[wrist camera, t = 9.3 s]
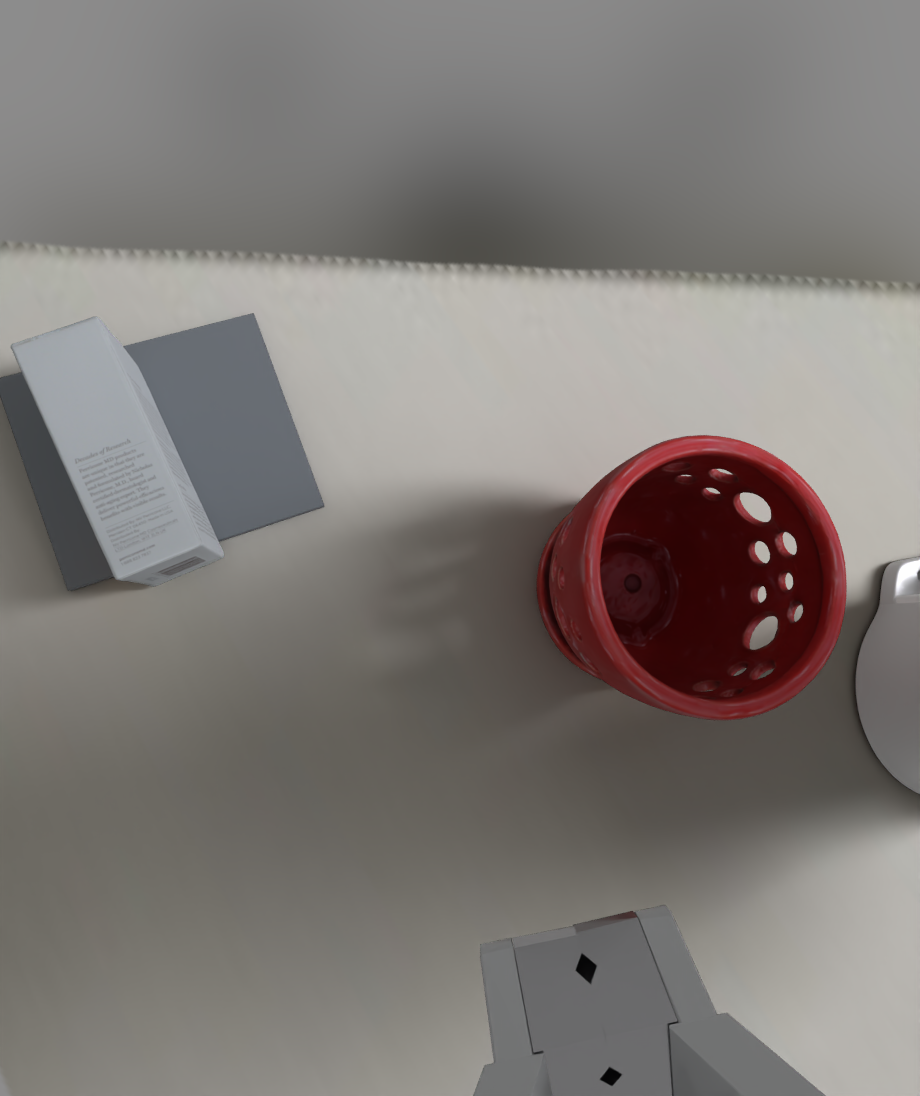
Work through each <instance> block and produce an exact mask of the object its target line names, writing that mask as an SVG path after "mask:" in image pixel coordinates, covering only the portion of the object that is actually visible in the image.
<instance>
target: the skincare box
mask: <svg viewBox="0 0 920 1096" xmlns="http://www.w3.org/2000/svg"><path fill="white" fill-rule="evenodd" d="M11 349H12V351H13V353H14V356H15V358H16V360H17V362H18V365H19V367H20V369H21V371H22V373H23V376H24V378H25V380H26V382H27V384H28V387H29V389H30V391H31V393H32V395H33V398H34V400H35V402H36V405H37V407H38V409H39V411H40V414H41V416H42V418H43V420H44V422H45V425H46V427H47V429H48V431H49V434H50V436H51V438H52V440H53V443H54V445H55V447H56V449H57V452H58V454H59V456H60V458H61V461H62V463H63V465H64V467H65V469H66V471H67V474H68V476H69V478H70V480H71V483H72V485H73V487H74V489H75V491H76V493H77V495H78V498H79V500H80V502H81V505H82V507H83V509H84V511H85V514H86V516H87V518H88V520H89V522H90V525H91V527H92V529H93V531H94V534H95V536H96V538H97V540H98V542H99V545H100V547H101V549H102V551H103V553H104V555H105V558H106V560H107V562H108V564H109V566H110V569H111V571H112V573H113V576H114V577H115V579H116V580H120V581H129V582H136V583H140V584H146V585H149V586H152V587H154V586H157V585H160V584H162V583H165V582H167V581H169V580H172V579H174V578H176V577H178V576H181V575H183V574H186V573H188V572H191V571H193V570H195V569H198V568H200V567H203V566H205V565H208V564H210V563H212V562H215V561H217V560H219V559H221V558H223V557H224V552H223V550H222V548H221V546H220V544H219V541H218V539H217V537H216V535H215V533H214V531H213V528H212V526H211V524H210V522H209V519H208V517H207V515H206V513H205V511H204V509H203V506H202V504H201V502H200V500H199V498H198V495H197V493H196V491H195V489H194V487H193V485H192V483H191V480H190V478H189V476H188V474H187V472H186V470H185V467H184V465H183V463H182V461H181V459H180V456H179V454H178V452H177V450H176V448H175V445H174V443H173V441H172V439H171V437H170V435H169V432H168V430H167V428H166V426H165V424H164V421H163V419H162V417H161V415H160V413H159V410H158V408H157V406H156V404H155V401H154V399H153V397H152V395H151V392H150V390H149V388H148V386H147V384H146V382H145V380H144V378H143V375H142V373H141V371H140V369H139V367H138V366H137V364H136V363H135V362H134V360H133V359H132V358H131V356H130V355H129V354H128V352H127V351H126V350H125V348H124V347H123V346H122V344H121V342H120V341H119V340H118V339H117V338H116V337H115V336H114V335H113V334H112V333H111V332H110V330H109V329H108V328H107V327H106V325H105V324H104V323H103V322H102V320H101V319H100V318H98V317H92V318H89V319H86V320H83V321H80V322H77V323H74V324H71V325H69V326H66V327H63V328H60V329H57V330H54V331H51V332H48V333H45V334H42V335H38V336H35V337H32V338H29V339H26V340H23V341H20V342H17V343H14V344H12V345H11Z"/></svg>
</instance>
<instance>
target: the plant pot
mask: <svg viewBox="0 0 920 1096" xmlns="http://www.w3.org/2000/svg"><path fill="white" fill-rule="evenodd" d="M716 469H724V470H727V471H729V472H730V473H732V475H731V474H726V473H722V472H720V471H718V470H716ZM681 475H691V476H681ZM706 488H714V489H716V490H718V491H719V492H720V493H721V494H715V493H712V492H709V491H708V490H707V489H706ZM743 492H749V493H754V494H756V495H758V496H760V497H761V498H763V499H764V500H765V501H766V502H767V504H768V505H769V507H770V509H771V519H770V521H769V522H762V521H759V520H757V519H755V518H753V517H752V516H751V515H750V514H749V513H748V512H747V511H746V510H745V508H744V507H743V505H742V503H741V501H740V493H743ZM784 532H788V533H789V534H791V535H792V536H793V537H794V539H795V541H796V545H797V552H796V554H795V555H792V554H790V553H789V552H788V551H787V550H786V548H785V546H784V543H783V537H782V536H783V534H784ZM757 541H762V542H764V543H765V544H766V545H767V547H768V549H769V552H770V560H769V561H768V563H763V562H762V561H760V560H759V558H758V557H757V555H756V554H755V543H756V542H757ZM787 573H790V574H791V575H792V577H793V587H792V588H791V589H790V590H788V589H787V587H786V584H785V577H786V574H787ZM761 586H764V587H765V589H766V599H765V600H764V601H763V602H762V603H760V602H759V601H758V590H759V588H760V587H761ZM537 598H538V603H539V609H540V613H541V616H542V619H543V622H544V624H545V626H546V628H547V631H548V633H549V635H550V636H551V638H552V640H553V641H554V643H555V644H556V646H557V647H558V648H559V649H560V651H561V652H562V653H563V654H564V655H565V656H566V657H567V658H568V659H569V660H570V661H571V662H572V663H573V664H575V665H576V666H577V667H579V668H580V669H582V670H583V671H585V672H587V673H589V674H590V675H592V676H594V677H597V678H599V679H602V680H603V681H605V682H606V683H607V684H609V685H610V686H612V687H613V688H615V689H616V690H618V691H620V692H622V693H623V694H625V695H628V696H630V697H632V698H634V699H636V700H639V701H641V702H643V703H645V704H648V705H650V706H653V707H656V708H659V709H662V710H665V711H669V712H673V713H676V714H680V715H685V716H690V717H695V718H702V719H709V720H735V719H743V718H748V717H753V716H756V715H760V714H763V713H765V712H768V711H770V710H772V709H775V708H777V707H778V706H780V705H782V704H784V703H785V702H787V701H788V700H790V699H792V698H793V697H794V696H796V695H797V694H798V693H799V692H800V691H802V690H803V689H804V688H805V687H806V686H807V685H808V684H809V683H810V682H811V681H812V680H813V679H814V678H815V677H816V675H817V674H818V673H819V672H820V670H821V669H822V668H823V666H824V665H825V663H826V662H827V660H828V658H829V657H830V655H831V653H832V651H833V649H834V647H835V644H836V642H837V639H838V637H839V634H840V630H841V626H842V622H843V617H844V612H845V604H846V570H845V561H844V555H843V551H842V547H841V543H840V540H839V537H838V534H837V531H836V529H835V526H834V524H833V522H832V520H831V518H830V516H829V514H828V512H827V510H826V509H825V507H824V505H823V504H822V502H821V500H820V499H819V497H818V496H817V494H816V493H815V492H814V490H813V489H812V488H811V487H810V486H809V484H808V483H807V482H806V481H805V480H804V479H803V478H802V477H801V476H800V475H799V474H798V473H797V472H796V471H794V470H793V469H792V468H791V467H790V466H788V465H787V464H786V463H785V462H783V461H782V460H780V459H778V458H777V457H776V456H774V455H773V454H771V453H769V452H767V451H765V450H763V449H761V448H759V447H756V446H754V445H751V444H748V443H746V442H743V441H739V440H735V439H731V438H726V437H720V436H708V435H697V436H685V437H680V438H675V439H671V440H667V441H664V442H661V443H659V444H656V445H654V446H652V447H650V448H648V449H646V450H644V451H642V452H640V453H639V454H637V455H635V456H634V457H632V458H630V459H629V460H627V461H626V462H624V463H622V464H621V465H619V466H618V467H617V468H615V469H614V470H612V471H611V472H610V473H608V474H607V475H606V476H605V477H604V478H602V479H601V480H600V481H599V482H598V483H597V484H596V485H595V486H594V487H593V488H592V489H591V490H590V491H589V492H588V493H587V494H586V495H585V496H584V497H583V498H582V499H581V501H580V502H579V503H578V504H577V505H576V506H575V507H574V509H573V510H572V511H571V513H570V514H569V515H567V516H566V517H565V518H564V519H563V520H562V521H561V522H560V523H559V525H558V526H557V527H556V528H555V530H554V531H553V533H552V534H551V536H550V538H549V540H548V542H547V544H546V546H545V548H544V550H543V553H542V556H541V559H540V563H539V568H538V575H537ZM801 604H802V605H803V614H802V616H801V618H800V619H799V620H798V621H797V622H795V621H794V614H795V611H796V609H797V607H798V606H799V605H801ZM769 616H775V617H776V618H777V619H778V629H777V632H776V634H775V638H774V639H773V640H772V641H771V642H770V643H769V644H768V645H766V646H764V647H762V648H760V649H757V650H751V649H750V639H751V635H752V633H753V631H754V629H755V628H756V626H757V625H758V624H759V623H760V622H761V621H762V620H764V619H765V618H767V617H769ZM744 668H747V669H746V670H745V671H744V672H743V673H741V674H739V675H737V676H733V675H734V674H735V673H736V672H737V671H739V670H741V669H744ZM771 669H774V670H773V671H772V672H771V673H770V674H768V675H767V676H766V677H763V678H760V679H758V678H759V677H760V676H761V675H762V674H763V673H765V672H766V671H768V670H771ZM757 679H758V680H757ZM707 690H712V691H707Z"/></svg>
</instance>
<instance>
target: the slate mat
mask: <svg viewBox="0 0 920 1096" xmlns="http://www.w3.org/2000/svg"><path fill="white" fill-rule="evenodd" d="M123 347H124V348H125V350H126V351H127V352H128V354H129V355H130V356H131V358H132V359H133V360H134V362H135V363H136V364H137V366H138V367H139V369H140V371H141V373H142V375H143V378H144V380H145V382H146V384H147V386H148V388H149V390H150V392H151V395H152V397H153V399H154V401H155V404H156V406H157V408H158V410H159V413H160V415H161V417H162V419H163V421H164V424H165V426H166V428H167V430H168V432H169V435H170V437H171V439H172V441H173V443H174V445H175V448H176V450H177V452H178V454H179V456H180V459H181V461H182V463H183V465H184V467H185V470H186V472H187V474H188V476H189V478H190V480H191V483H192V485H193V487H194V489H195V491H196V493H197V495H198V498H199V500H200V502H201V504H202V506H203V509H204V511H205V513H206V515H207V517H208V519H209V522H210V524H211V526H212V528H213V531H214V533H215V535H216V537H217V539H218V541H219V542H220V541H223V540H226V539H229V538H232V537H235V536H238V535H241V534H244V533H247V532H250V531H253V530H256V529H259V528H262V527H265V526H268V525H271V524H274V523H277V522H280V521H283V520H286V519H289V518H292V517H295V516H298V515H301V514H304V513H307V512H310V511H313V510H316V509H319V508H322V507H324V504H323V501H322V498H321V495H320V493H319V490H318V487H317V484H316V482H315V479H314V476H313V474H312V471H311V468H310V465H309V463H308V460H307V457H306V455H305V452H304V449H303V446H302V444H301V441H300V438H299V435H298V433H297V430H296V427H295V425H294V422H293V419H292V416H291V414H290V411H289V408H288V406H287V403H286V400H285V397H284V395H283V392H282V389H281V386H280V384H279V381H278V378H277V376H276V373H275V370H274V367H273V365H272V362H271V359H270V356H269V354H268V351H267V348H266V346H265V343H264V340H263V337H262V335H261V332H260V329H259V327H258V324H257V321H256V318H255V316H254V313H252V314H248V315H244V316H240V317H236V318H232V319H228V320H225V321H221V322H217V323H213V324H209V325H205V326H201V327H197V328H193V329H189V330H185V331H182V332H178V333H174V334H170V335H166V336H162V337H158V338H154V339H150V340H146V341H142V342H139V343H135V344H131V345H127V346H123ZM0 397H1V399H2V402H3V405H4V408H5V411H6V414H7V417H8V420H9V422H10V425H11V428H12V431H13V434H14V437H15V440H16V443H17V445H18V448H19V451H20V454H21V457H22V460H23V463H24V466H25V468H26V471H27V474H28V477H29V480H30V483H31V486H32V489H33V491H34V494H35V497H36V500H37V503H38V506H39V509H40V512H41V514H42V517H43V520H44V523H45V526H46V529H47V532H48V535H49V537H50V540H51V543H52V546H53V549H54V552H55V555H56V558H57V560H58V563H59V566H60V569H61V572H62V575H63V578H64V581H65V583H66V586H67V589H68V590H70V591H72V590H75V589H78V588H81V587H84V586H87V585H90V584H93V583H96V582H99V581H102V580H105V579H108V578H111V577H114V576H113V573H112V571H111V569H110V566H109V564H108V562H107V560H106V558H105V555H104V553H103V551H102V549H101V547H100V545H99V542H98V540H97V538H96V536H95V534H94V531H93V529H92V527H91V525H90V522H89V520H88V518H87V516H86V514H85V511H84V509H83V507H82V505H81V502H80V500H79V498H78V495H77V493H76V491H75V489H74V487H73V485H72V483H71V480H70V478H69V476H68V474H67V471H66V469H65V467H64V465H63V463H62V461H61V458H60V456H59V454H58V452H57V449H56V447H55V445H54V443H53V440H52V438H51V436H50V434H49V431H48V429H47V427H46V425H45V422H44V420H43V418H42V416H41V414H40V411H39V409H38V407H37V405H36V402H35V400H34V398H33V395H32V393H31V391H30V389H29V387H28V384H27V382H26V380H25V378H24V376H23V373H22V372H21V373H17V374H14V375H10V376H6V377H2V378H0Z"/></svg>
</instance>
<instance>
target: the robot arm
mask: <svg viewBox="0 0 920 1096" xmlns="http://www.w3.org/2000/svg"><path fill="white" fill-rule="evenodd" d="M917 574H918V578H917ZM856 698H857V705H858V711H859V715H860V719H861V723H862V726H863V729H864V731H865V734H866V736H867V739H868V741H869V743H870V745H871V747H872V749H873V750H874V752H875V754H876V756H877V757H878V758H879V760H880V761H881V763H882V764H883V765H884V766H885V768H886V769H887V770H888V771H889V772H890V773H891V774H892V775H893V776H894V777H895V778H896V779H897V780H898V781H900V782H901V783H902V784H903V785H905V786H906V787H908V788H909V789H911V790H913V791H914V792H916V793H918V794H920V557H915V558H910V559H904V560H899V561H895V562H892V563H890V564H889V565H888V566H887V567H886V569H885V572H884V575H883V579H882V585H881V594H880V605H879V608H878V611H877V613H876V616H875V618H874V620H873V621H872V623H871V625H870V627H869V629H868V631H867V633H866V635H865V638H864V640H863V643H862V646H861V649H860V653H859V657H858V662H857V669H856ZM512 939H513V942H512ZM513 945H514V947H513ZM480 959H481V966H482V974H483V982H484V989H485V997H486V1005H487V1012H488V1020H489V1028H490V1035H491V1043H492V1051H493V1058H494V1063H492V1064H488V1065H484V1068H483V1071H482V1073H481V1076H480V1079H479V1081H478V1084H477V1087H476V1089H475V1092H474V1095H473V1096H826V1095H824V1094H823V1093H822V1092H821V1091H820V1090H818V1089H817V1088H816V1087H815V1086H814V1085H812V1084H811V1083H810V1082H809V1081H808V1080H807V1079H805V1078H804V1077H803V1076H802V1075H801V1074H799V1073H798V1072H797V1071H796V1070H795V1069H793V1068H792V1067H791V1066H790V1065H789V1064H788V1063H786V1062H785V1061H784V1060H783V1059H782V1058H780V1057H779V1056H778V1055H777V1054H776V1053H774V1052H773V1051H772V1050H771V1049H770V1048H769V1047H767V1046H766V1045H765V1044H764V1043H763V1042H761V1041H760V1040H759V1039H758V1038H757V1037H755V1036H754V1035H753V1034H752V1033H751V1032H750V1031H748V1030H747V1029H746V1028H745V1027H744V1026H742V1025H741V1024H740V1023H739V1022H738V1021H736V1020H735V1019H734V1018H733V1017H732V1016H731V1015H729V1014H728V1013H722V1014H717V1013H716V1010H715V1008H714V1006H713V1004H712V1002H711V999H710V997H709V995H708V993H707V990H706V988H705V986H704V984H703V981H702V979H701V977H700V975H699V973H698V970H697V968H696V966H695V964H694V961H693V959H692V957H691V955H690V952H689V950H688V948H687V946H686V943H685V941H684V939H683V937H682V935H681V932H680V930H679V928H678V926H677V923H676V921H675V919H674V917H673V914H672V912H671V911H670V910H669V909H668V908H667V906H665V905H661V906H657V907H652V908H648V909H644V910H640V911H635V912H633V911H630V912H626V913H621V914H617V915H613V916H609V917H604V918H600V919H596V920H591V921H587V922H583V923H579V924H574V925H573V926H569V927H564V928H559V929H554V930H549V931H544V932H539V933H534V934H529V935H524V936H519V937H514V938H507V939H502V940H498V941H493V942H489V943H484V944H480Z"/></svg>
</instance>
